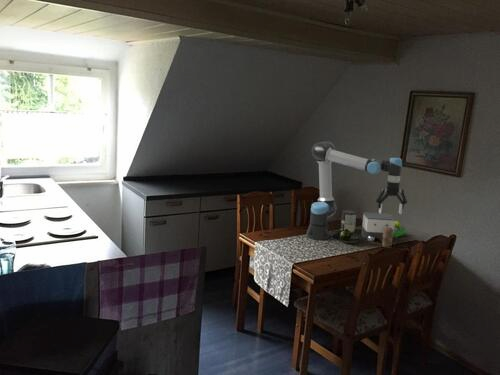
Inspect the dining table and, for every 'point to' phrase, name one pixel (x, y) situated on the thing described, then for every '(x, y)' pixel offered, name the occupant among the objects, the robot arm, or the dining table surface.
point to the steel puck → (371, 238)
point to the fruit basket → (398, 229)
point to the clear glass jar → (348, 220)
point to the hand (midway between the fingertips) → (390, 213)
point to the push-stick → (387, 237)
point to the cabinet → (376, 224)
